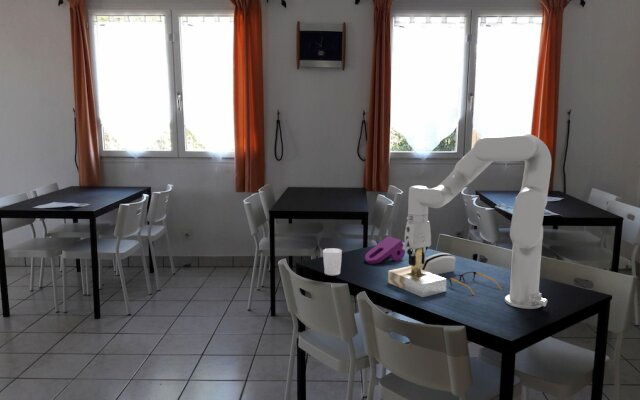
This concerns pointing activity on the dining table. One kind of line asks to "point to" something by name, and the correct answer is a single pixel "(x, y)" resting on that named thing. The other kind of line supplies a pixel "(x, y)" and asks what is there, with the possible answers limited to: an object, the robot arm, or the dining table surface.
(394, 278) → the notched wooden block
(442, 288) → the gray notched block
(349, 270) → the dining table surface
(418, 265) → the brass pin
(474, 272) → the eyeglasses
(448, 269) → the white black arched block
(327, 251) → the white cup
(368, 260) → the mounting bracket
